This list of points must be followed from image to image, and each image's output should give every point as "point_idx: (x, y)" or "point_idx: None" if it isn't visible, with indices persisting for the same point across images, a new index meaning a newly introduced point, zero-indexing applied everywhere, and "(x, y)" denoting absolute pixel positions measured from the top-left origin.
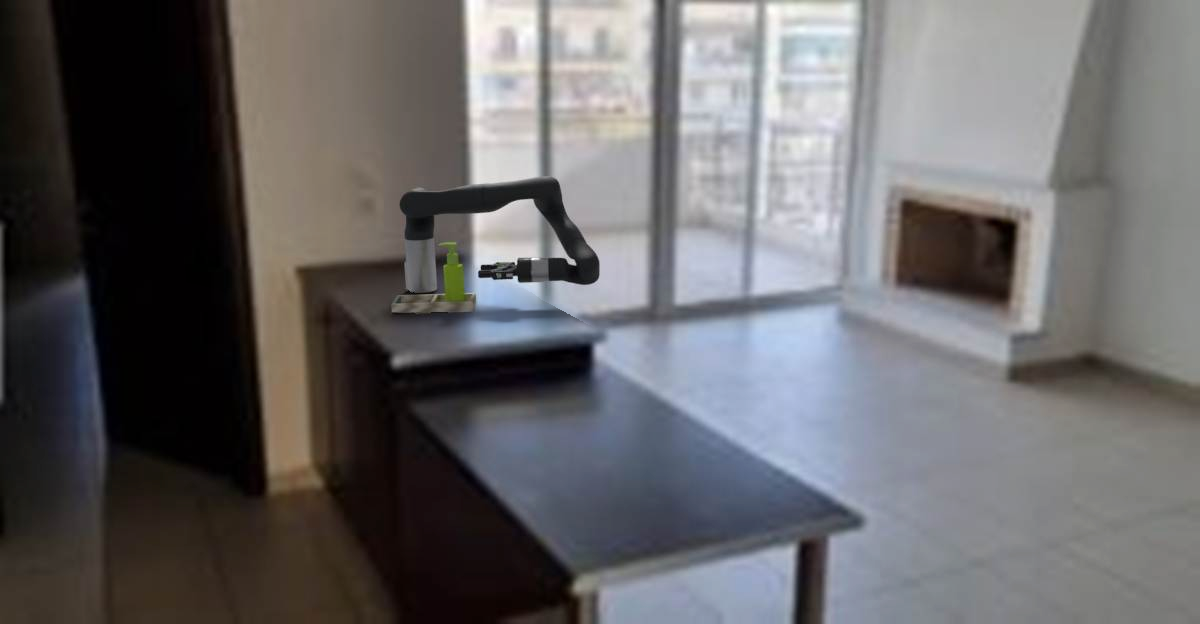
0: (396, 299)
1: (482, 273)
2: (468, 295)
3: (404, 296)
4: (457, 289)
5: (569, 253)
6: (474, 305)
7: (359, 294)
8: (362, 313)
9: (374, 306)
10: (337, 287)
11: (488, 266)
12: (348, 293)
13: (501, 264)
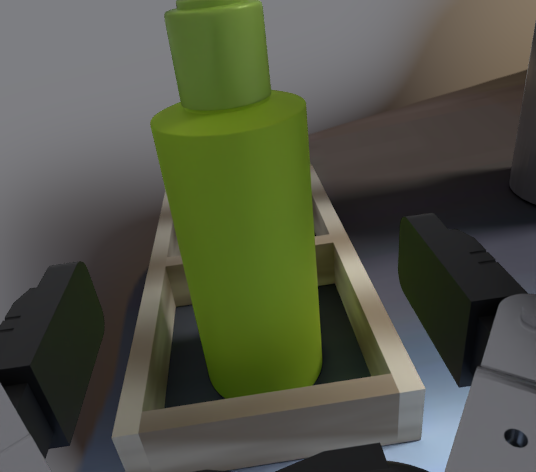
0: None
1: (13, 319)
2: (382, 361)
3: None
4: (189, 285)
5: None
6: (274, 455)
7: (431, 123)
8: None
9: None
10: (489, 91)
11: (441, 281)
12: (434, 112)
13: (455, 437)
